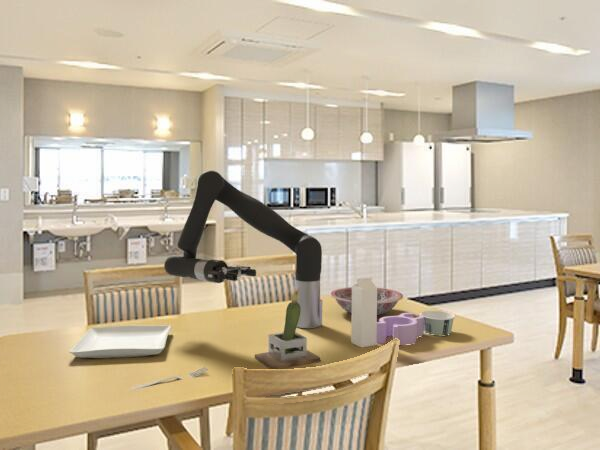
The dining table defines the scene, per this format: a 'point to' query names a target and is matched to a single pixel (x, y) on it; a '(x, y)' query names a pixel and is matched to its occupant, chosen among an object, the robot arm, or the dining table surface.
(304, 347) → the gray slotted crate
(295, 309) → the vegetable
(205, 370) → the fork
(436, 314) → the food container
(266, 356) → the brown rectangular board
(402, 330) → the clip
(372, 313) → the milk
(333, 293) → the ceramic bowl
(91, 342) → the square plate
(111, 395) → the dining table surface
